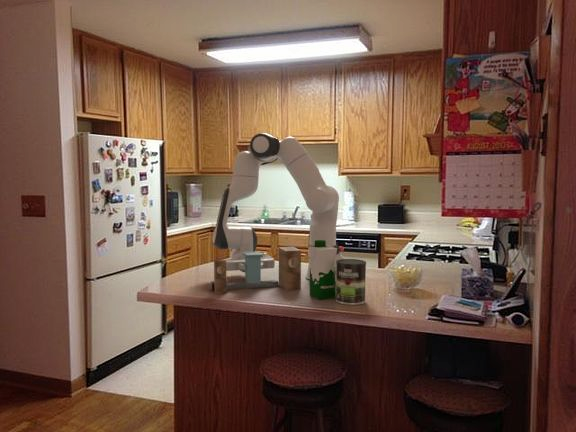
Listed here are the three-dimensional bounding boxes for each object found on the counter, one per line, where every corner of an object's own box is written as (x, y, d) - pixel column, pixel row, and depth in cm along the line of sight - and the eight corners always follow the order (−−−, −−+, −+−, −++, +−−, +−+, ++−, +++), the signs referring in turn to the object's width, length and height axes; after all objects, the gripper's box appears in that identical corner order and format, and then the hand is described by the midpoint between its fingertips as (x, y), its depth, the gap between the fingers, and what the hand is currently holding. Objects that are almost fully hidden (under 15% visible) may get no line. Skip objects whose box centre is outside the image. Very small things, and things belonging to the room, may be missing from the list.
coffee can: (362, 306, 165) (362, 264, 163) (332, 303, 168) (332, 262, 167) (368, 299, 174) (368, 259, 173) (339, 296, 178) (340, 258, 177)
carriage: (258, 279, 195) (258, 252, 194) (262, 282, 190) (262, 254, 189) (243, 280, 194) (243, 252, 193) (247, 283, 188) (246, 255, 187)
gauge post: (224, 291, 186) (224, 259, 184) (227, 294, 181) (226, 261, 180) (214, 291, 184) (213, 260, 183) (216, 294, 180) (215, 262, 179)
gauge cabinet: (293, 283, 199) (293, 246, 197) (301, 289, 188) (301, 250, 187) (278, 284, 197) (278, 247, 195) (286, 290, 186) (286, 251, 185)
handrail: (276, 284, 196) (276, 277, 196) (278, 286, 193) (278, 279, 193) (210, 289, 189) (210, 281, 188) (212, 291, 185) (211, 283, 185)
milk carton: (327, 292, 184) (327, 239, 182) (339, 298, 175) (340, 242, 174) (306, 294, 180) (306, 240, 178) (317, 300, 172) (317, 244, 170)
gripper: (220, 255, 200) (226, 260, 187) (269, 252, 206) (278, 258, 193) (220, 270, 201) (226, 277, 187) (269, 267, 207) (278, 273, 193)
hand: (253, 267), depth 190 cm, fingers closed on carriage, 5 cm apart
